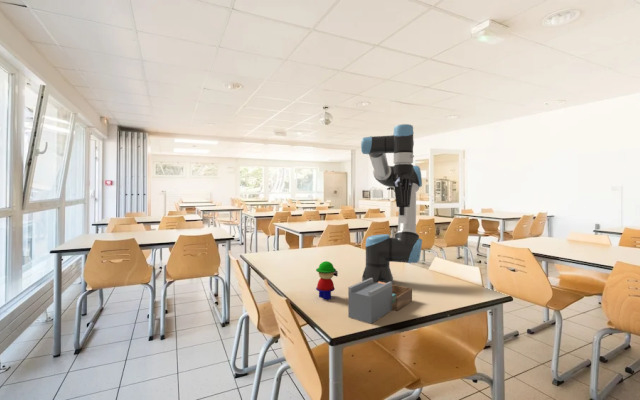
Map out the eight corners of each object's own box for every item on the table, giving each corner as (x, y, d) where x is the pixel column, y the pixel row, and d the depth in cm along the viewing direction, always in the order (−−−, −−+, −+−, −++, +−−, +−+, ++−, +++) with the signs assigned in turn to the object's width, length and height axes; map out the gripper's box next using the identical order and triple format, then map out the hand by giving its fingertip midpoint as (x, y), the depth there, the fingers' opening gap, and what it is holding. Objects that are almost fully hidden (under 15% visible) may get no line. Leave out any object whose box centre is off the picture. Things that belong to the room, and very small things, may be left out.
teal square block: (384, 291, 124) (384, 298, 124) (378, 294, 120) (378, 302, 120) (396, 294, 120) (396, 301, 121) (390, 297, 117) (390, 305, 117)
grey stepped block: (348, 317, 106) (348, 287, 106) (370, 304, 119) (370, 277, 119) (371, 323, 101) (371, 292, 101) (392, 309, 113) (392, 281, 113)
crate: (366, 303, 120) (366, 290, 120) (382, 294, 131) (382, 282, 131) (397, 311, 112) (397, 297, 112) (412, 300, 123) (412, 288, 123)
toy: (312, 295, 130) (312, 260, 130) (329, 292, 134) (329, 258, 133) (321, 301, 122) (321, 264, 122) (339, 298, 125) (340, 262, 125)
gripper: (404, 162, 113) (404, 225, 114) (419, 164, 123) (418, 222, 124) (386, 163, 118) (386, 224, 119) (401, 165, 128) (401, 221, 129)
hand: (403, 223), depth 121 cm, fingers closed
